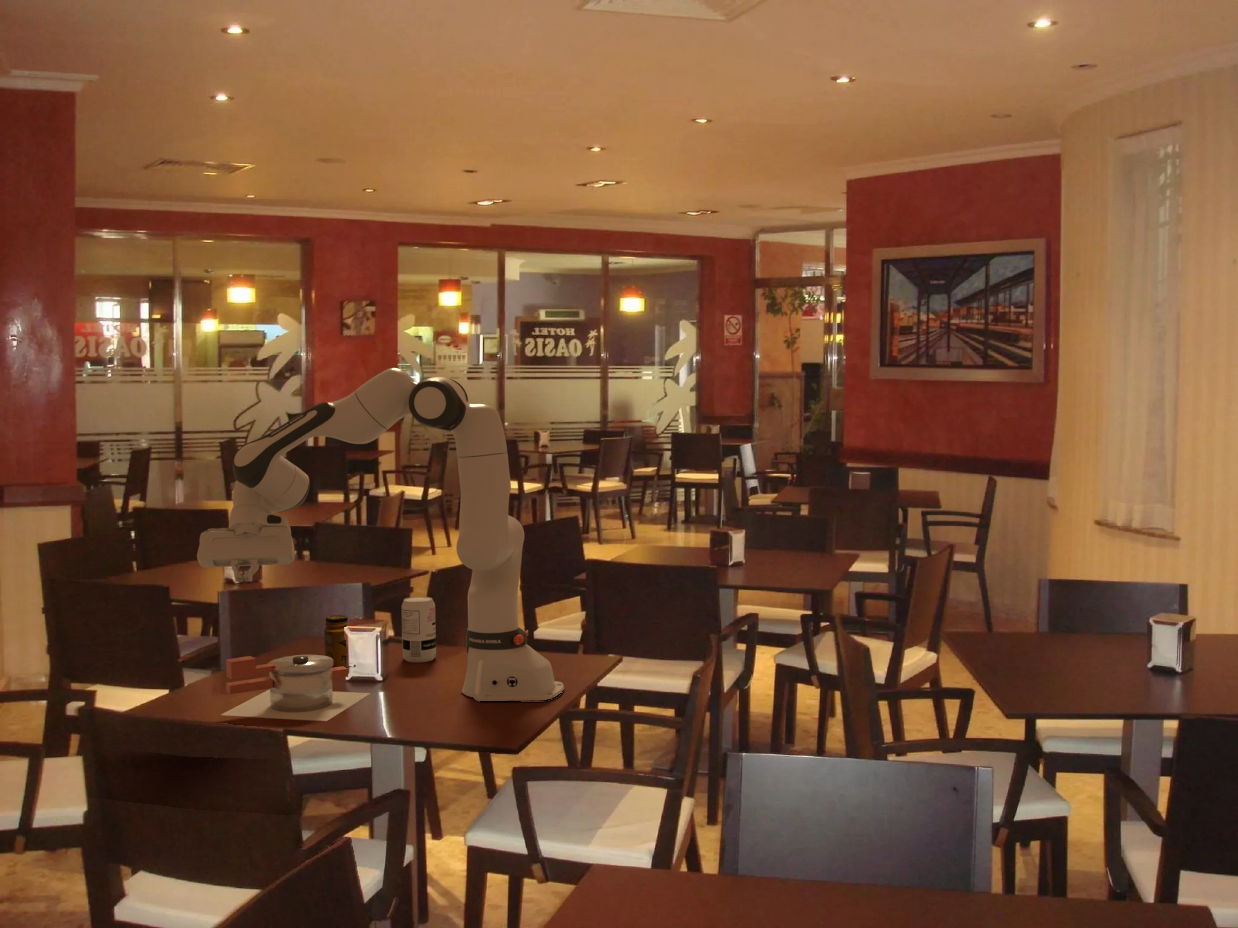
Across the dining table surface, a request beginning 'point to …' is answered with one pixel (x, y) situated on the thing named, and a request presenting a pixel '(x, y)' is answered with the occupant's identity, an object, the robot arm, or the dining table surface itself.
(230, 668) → the lid
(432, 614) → the supplement can
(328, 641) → the condiment
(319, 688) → the cooker
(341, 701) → the mat
